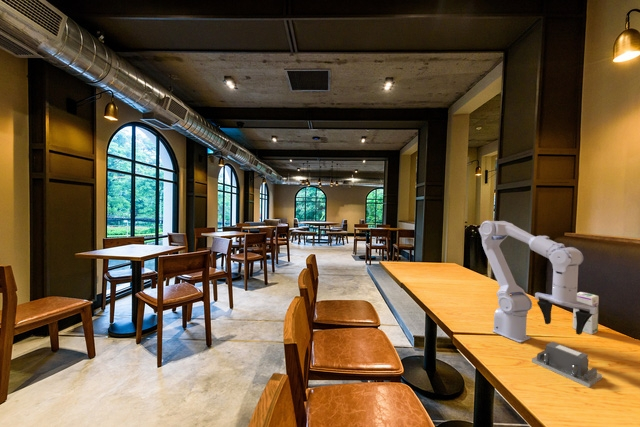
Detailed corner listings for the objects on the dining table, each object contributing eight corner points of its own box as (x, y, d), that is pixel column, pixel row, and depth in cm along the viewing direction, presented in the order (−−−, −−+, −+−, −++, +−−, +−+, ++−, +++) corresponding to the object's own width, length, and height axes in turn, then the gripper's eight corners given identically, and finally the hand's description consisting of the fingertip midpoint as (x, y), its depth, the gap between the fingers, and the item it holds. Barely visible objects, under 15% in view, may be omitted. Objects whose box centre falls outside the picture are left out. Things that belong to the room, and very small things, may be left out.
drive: (545, 360, 80) (545, 344, 80) (551, 357, 82) (552, 341, 82) (580, 376, 73) (581, 358, 73) (586, 371, 75) (587, 354, 75)
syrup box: (592, 335, 100) (593, 297, 99) (571, 328, 105) (573, 292, 105) (598, 332, 102) (599, 295, 102) (577, 325, 108) (579, 291, 107)
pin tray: (531, 361, 81) (532, 349, 81) (545, 354, 85) (546, 342, 85) (589, 387, 70) (590, 373, 70) (602, 378, 74) (602, 364, 74)
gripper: (531, 281, 87) (529, 321, 87) (591, 294, 74) (589, 341, 74) (541, 278, 90) (539, 317, 91) (600, 291, 77) (598, 336, 78)
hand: (562, 328), depth 83 cm, fingers open, 7 cm apart
